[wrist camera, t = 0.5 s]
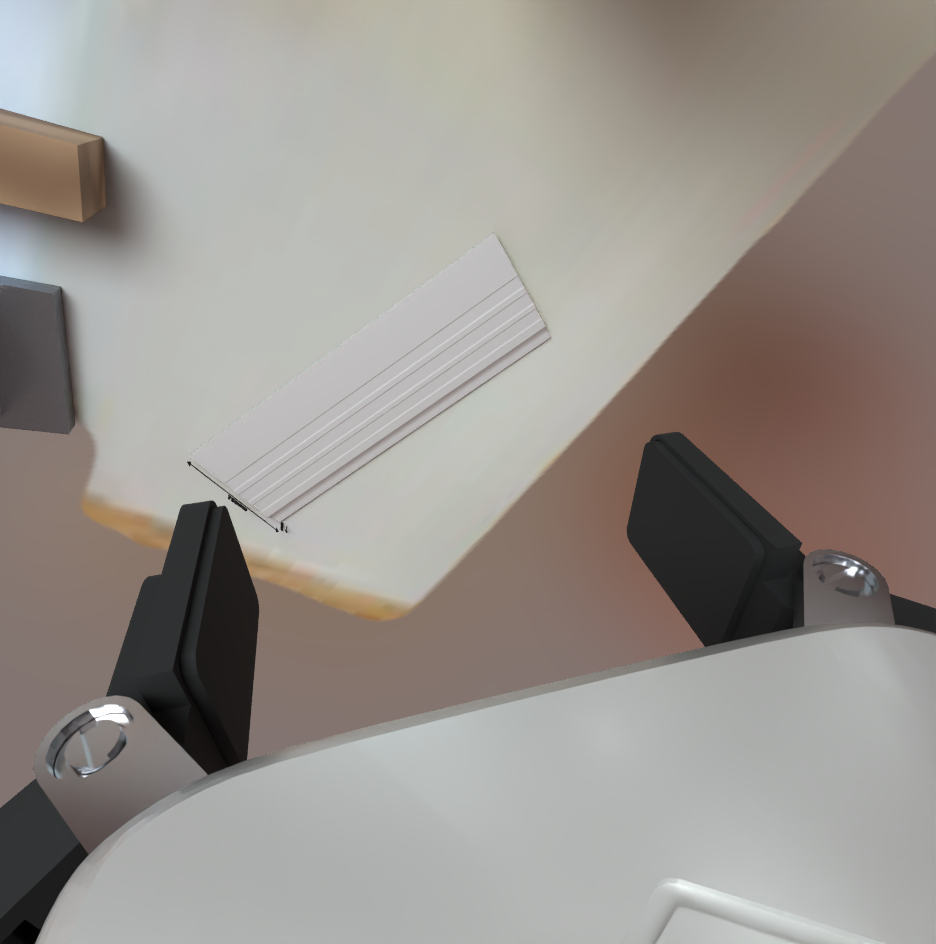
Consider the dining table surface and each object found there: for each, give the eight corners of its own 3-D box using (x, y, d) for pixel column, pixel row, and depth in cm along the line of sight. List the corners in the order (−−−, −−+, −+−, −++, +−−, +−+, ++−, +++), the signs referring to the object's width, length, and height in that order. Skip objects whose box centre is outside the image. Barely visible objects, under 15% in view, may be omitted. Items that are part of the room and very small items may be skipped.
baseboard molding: (553, 345, 50) (489, 229, 42) (565, 358, 47) (500, 237, 40) (289, 525, 54) (191, 447, 47) (288, 544, 52) (185, 466, 45)
